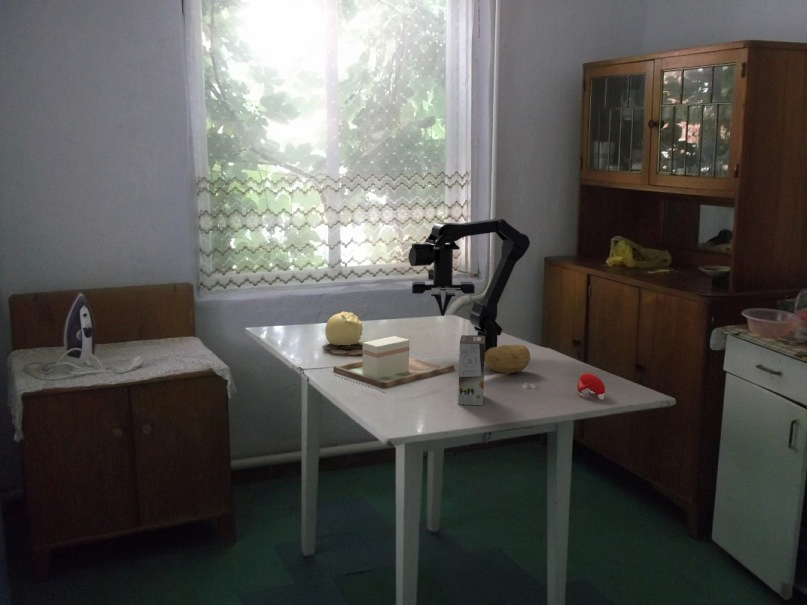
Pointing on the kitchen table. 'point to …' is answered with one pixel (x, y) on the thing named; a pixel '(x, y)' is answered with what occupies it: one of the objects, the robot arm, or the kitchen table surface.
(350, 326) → the sculpture
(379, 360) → the cream block
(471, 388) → the coffee box
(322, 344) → the kitchen table surface
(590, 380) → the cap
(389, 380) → the tray
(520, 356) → the potato
